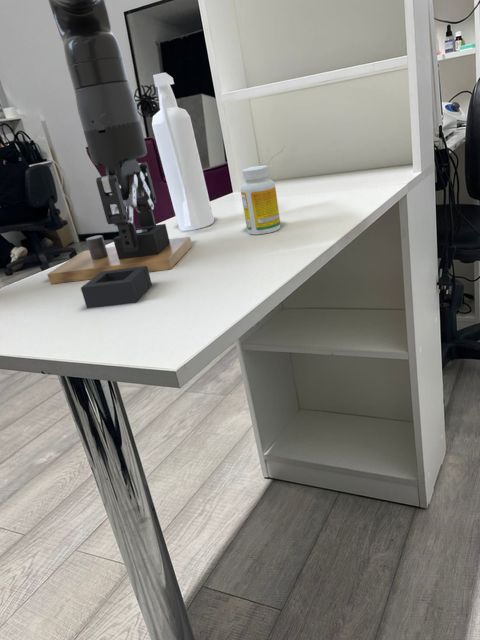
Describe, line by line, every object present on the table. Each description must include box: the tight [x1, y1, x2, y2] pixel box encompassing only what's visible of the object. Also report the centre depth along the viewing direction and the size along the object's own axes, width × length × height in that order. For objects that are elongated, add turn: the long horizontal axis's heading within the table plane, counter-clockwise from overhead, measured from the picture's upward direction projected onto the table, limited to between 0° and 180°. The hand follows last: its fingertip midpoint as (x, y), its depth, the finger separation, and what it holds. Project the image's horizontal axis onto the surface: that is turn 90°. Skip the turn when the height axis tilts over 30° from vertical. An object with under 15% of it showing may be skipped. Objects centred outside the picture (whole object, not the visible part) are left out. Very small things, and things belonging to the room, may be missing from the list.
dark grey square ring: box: [80, 266, 153, 309], centre depth 63 cm, size 6×6×3 cm
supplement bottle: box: [240, 165, 281, 236], centre depth 84 cm, size 5×5×10 cm
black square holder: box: [112, 223, 170, 259], centre depth 78 cm, size 6×6×3 cm
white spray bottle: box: [151, 72, 215, 232], centre depth 92 cm, size 7×12×25 cm, turn 178°
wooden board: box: [47, 229, 193, 285], centre depth 79 cm, size 18×12×4 cm, turn 83°
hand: (142, 243), depth 79 cm, fingers open, 8 cm apart
